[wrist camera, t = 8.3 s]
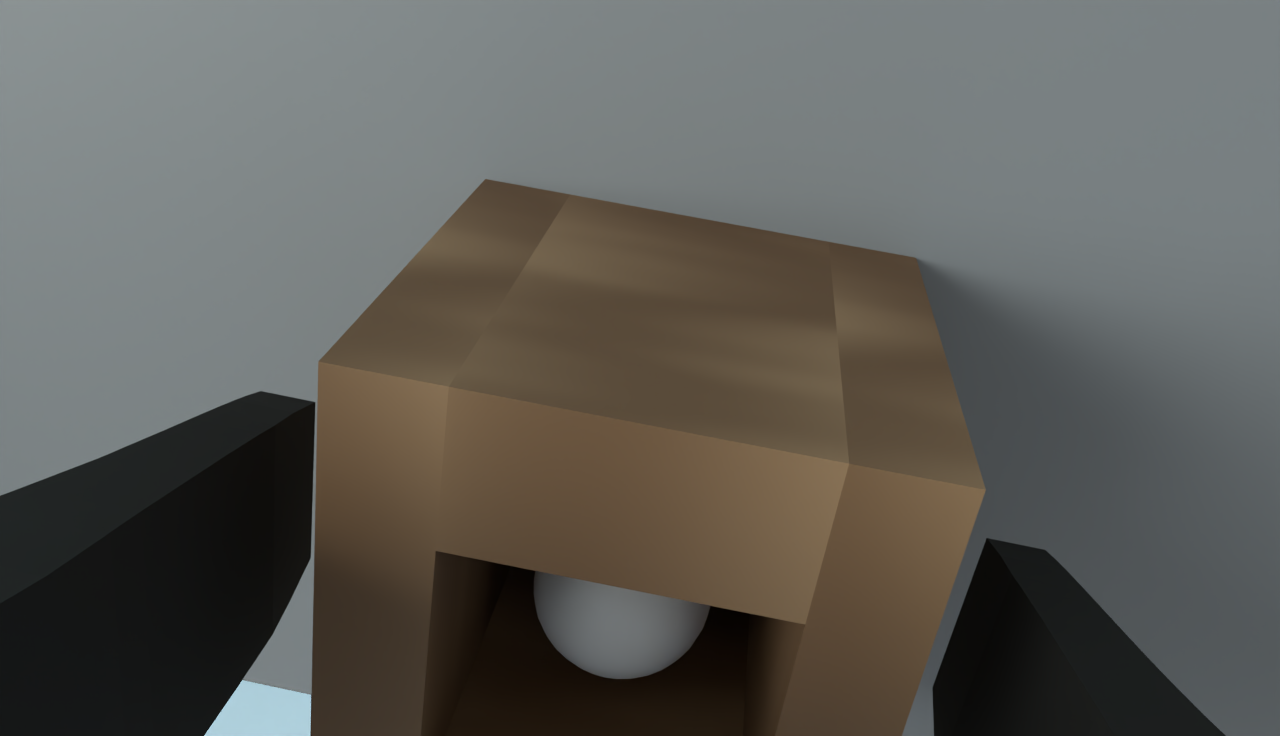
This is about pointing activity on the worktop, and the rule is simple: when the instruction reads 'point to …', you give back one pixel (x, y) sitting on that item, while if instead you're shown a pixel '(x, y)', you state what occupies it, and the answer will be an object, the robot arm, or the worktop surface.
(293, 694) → the worktop surface
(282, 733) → the worktop surface
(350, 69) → the hub board
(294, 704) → the worktop surface
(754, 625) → the collar
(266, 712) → the worktop surface
